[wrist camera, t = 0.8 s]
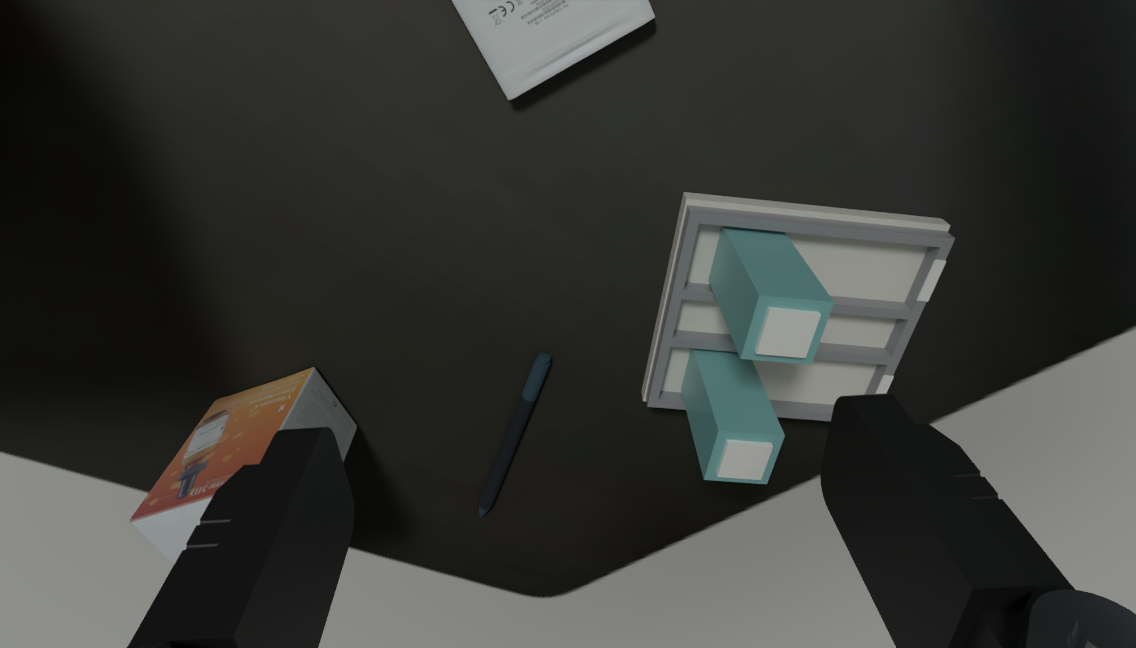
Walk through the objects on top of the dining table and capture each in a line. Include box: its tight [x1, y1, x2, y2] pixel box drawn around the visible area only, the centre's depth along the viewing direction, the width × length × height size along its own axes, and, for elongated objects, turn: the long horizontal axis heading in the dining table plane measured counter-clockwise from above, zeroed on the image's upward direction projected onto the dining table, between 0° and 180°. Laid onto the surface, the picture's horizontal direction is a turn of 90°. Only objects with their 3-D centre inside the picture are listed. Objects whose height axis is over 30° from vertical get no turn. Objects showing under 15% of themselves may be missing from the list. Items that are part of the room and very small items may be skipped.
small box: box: [130, 367, 357, 565], centre depth 40 cm, size 8×6×10 cm
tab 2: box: [681, 348, 785, 484], centre depth 38 cm, size 4×4×8 cm
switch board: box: [641, 192, 955, 421], centre depth 40 cm, size 15×14×2 cm
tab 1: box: [708, 226, 834, 365], centre depth 34 cm, size 4×4×8 cm
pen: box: [479, 352, 551, 517], centre depth 46 cm, size 1×16×1 cm, turn 160°
